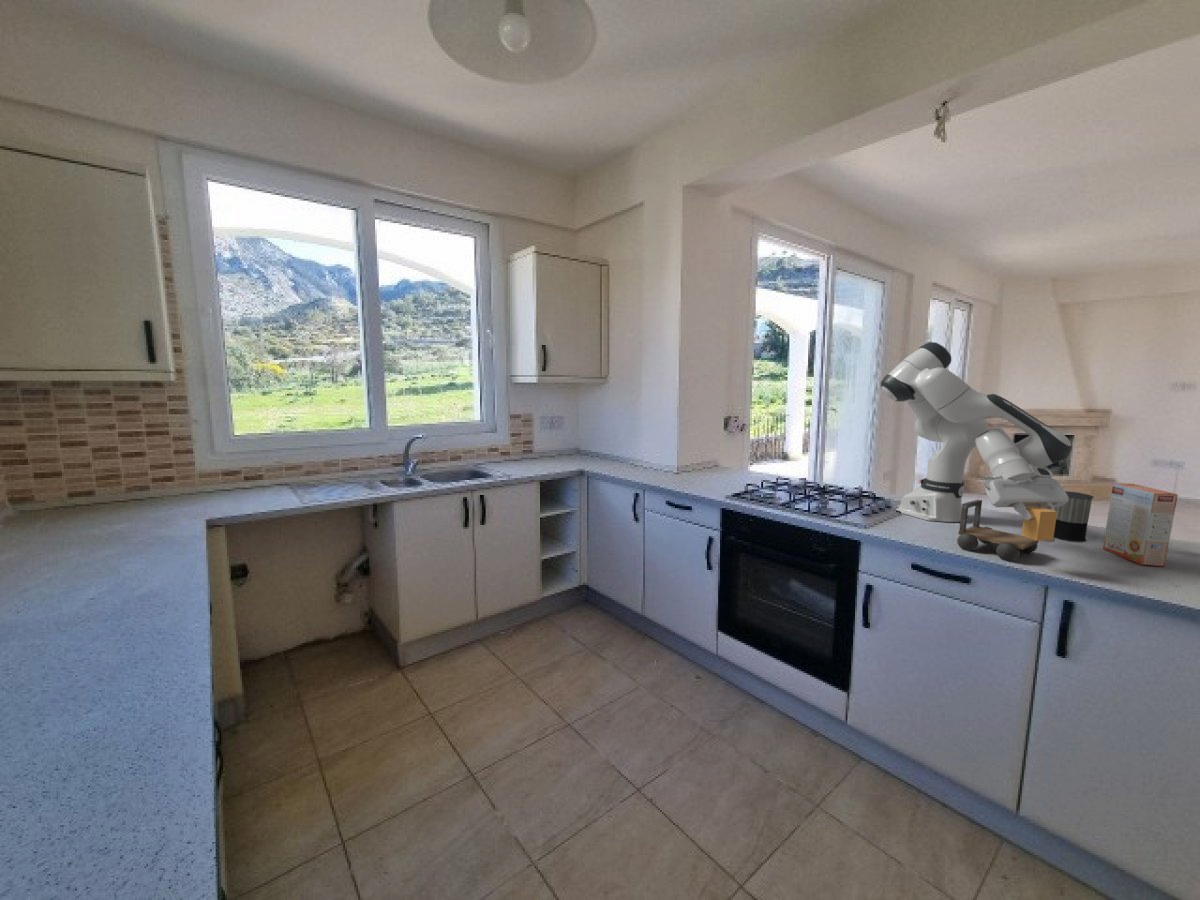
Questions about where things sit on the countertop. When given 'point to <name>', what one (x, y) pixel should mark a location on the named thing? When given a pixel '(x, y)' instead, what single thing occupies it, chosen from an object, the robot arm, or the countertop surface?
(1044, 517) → the block
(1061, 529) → the milk frother
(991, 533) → the trolley
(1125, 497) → the cracker box
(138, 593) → the countertop surface
